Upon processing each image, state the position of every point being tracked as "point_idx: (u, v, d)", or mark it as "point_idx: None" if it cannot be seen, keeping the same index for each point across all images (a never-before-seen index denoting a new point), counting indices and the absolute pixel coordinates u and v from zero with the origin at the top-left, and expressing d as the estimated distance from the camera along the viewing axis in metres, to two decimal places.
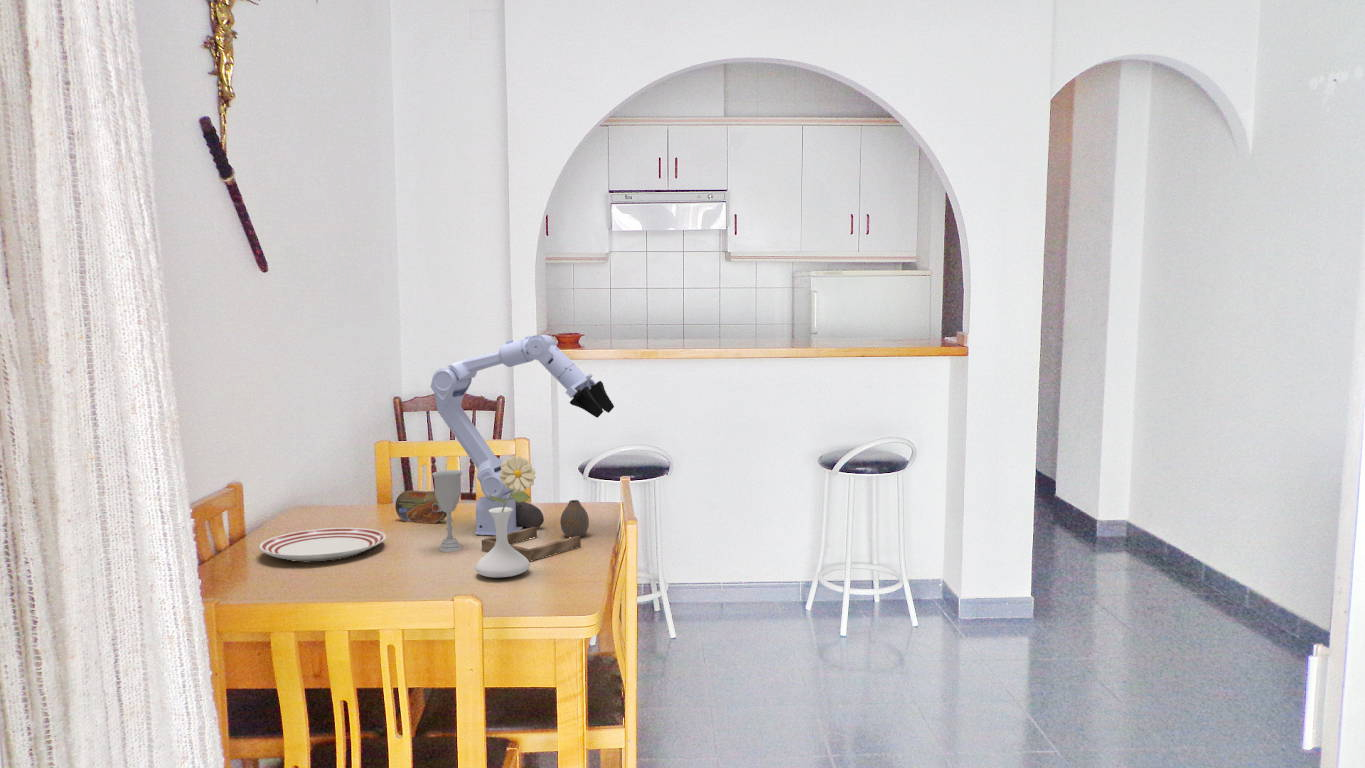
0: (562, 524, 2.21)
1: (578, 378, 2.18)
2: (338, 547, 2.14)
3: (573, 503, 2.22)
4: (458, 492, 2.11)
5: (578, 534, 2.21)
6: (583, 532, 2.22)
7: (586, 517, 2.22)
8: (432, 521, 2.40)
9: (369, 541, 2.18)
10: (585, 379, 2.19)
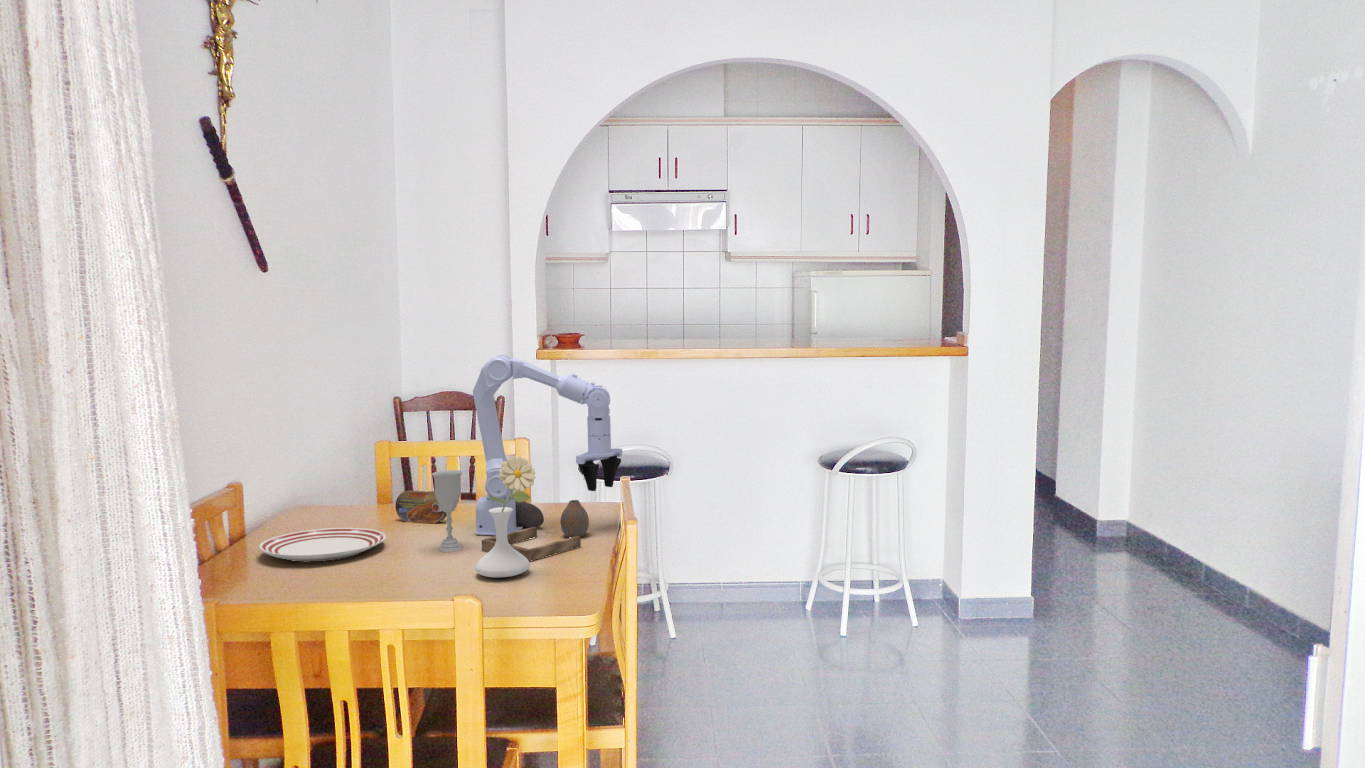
0: (562, 524, 2.21)
1: (599, 450, 2.26)
2: (338, 547, 2.14)
3: (573, 503, 2.22)
4: (458, 492, 2.11)
5: (578, 534, 2.21)
6: (583, 532, 2.22)
7: (586, 517, 2.22)
8: (432, 521, 2.40)
9: (369, 541, 2.18)
10: (603, 455, 2.26)
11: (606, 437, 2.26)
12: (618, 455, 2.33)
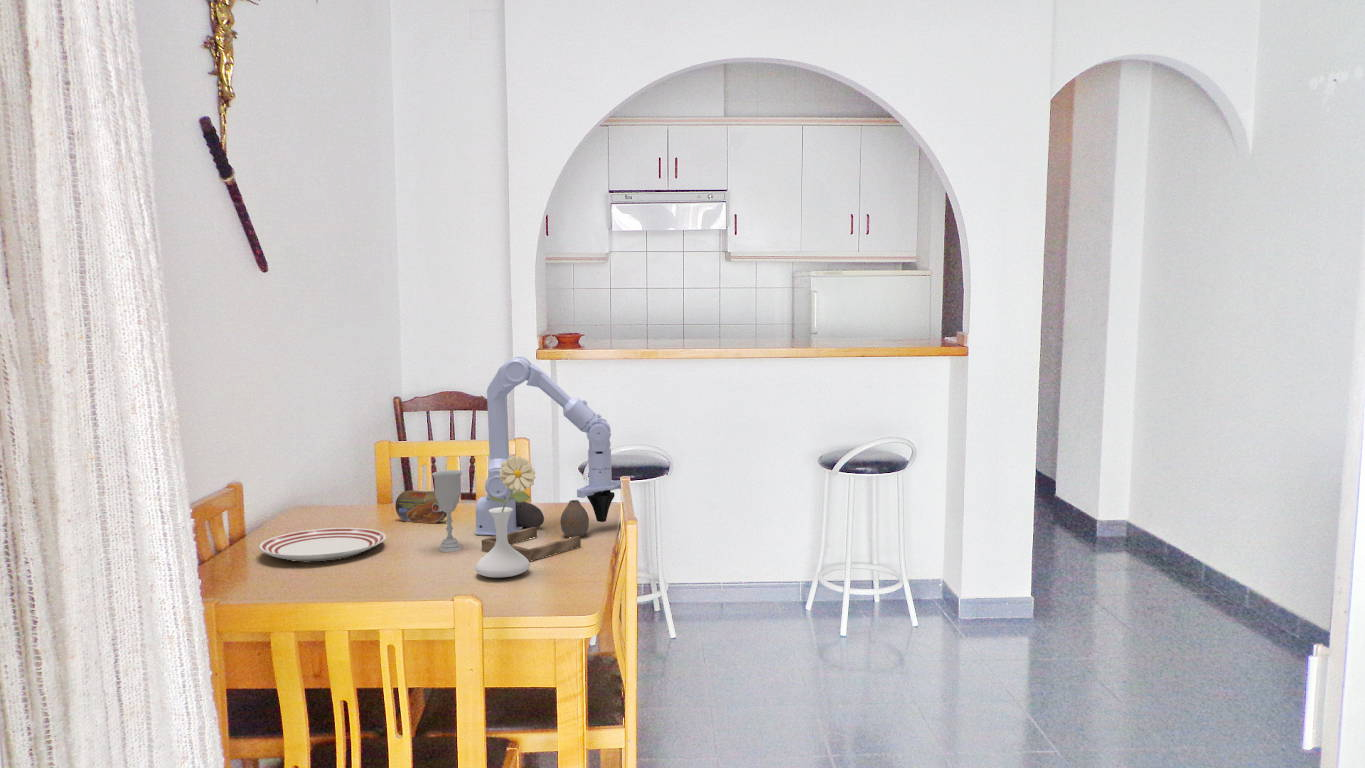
0: (562, 524, 2.21)
1: (600, 483, 2.26)
2: (338, 547, 2.14)
3: (573, 503, 2.22)
4: (458, 492, 2.11)
5: (578, 534, 2.21)
6: (583, 532, 2.22)
7: (586, 517, 2.22)
8: (432, 521, 2.40)
9: (369, 541, 2.18)
10: (604, 488, 2.26)
11: (607, 470, 2.27)
12: (619, 487, 2.34)
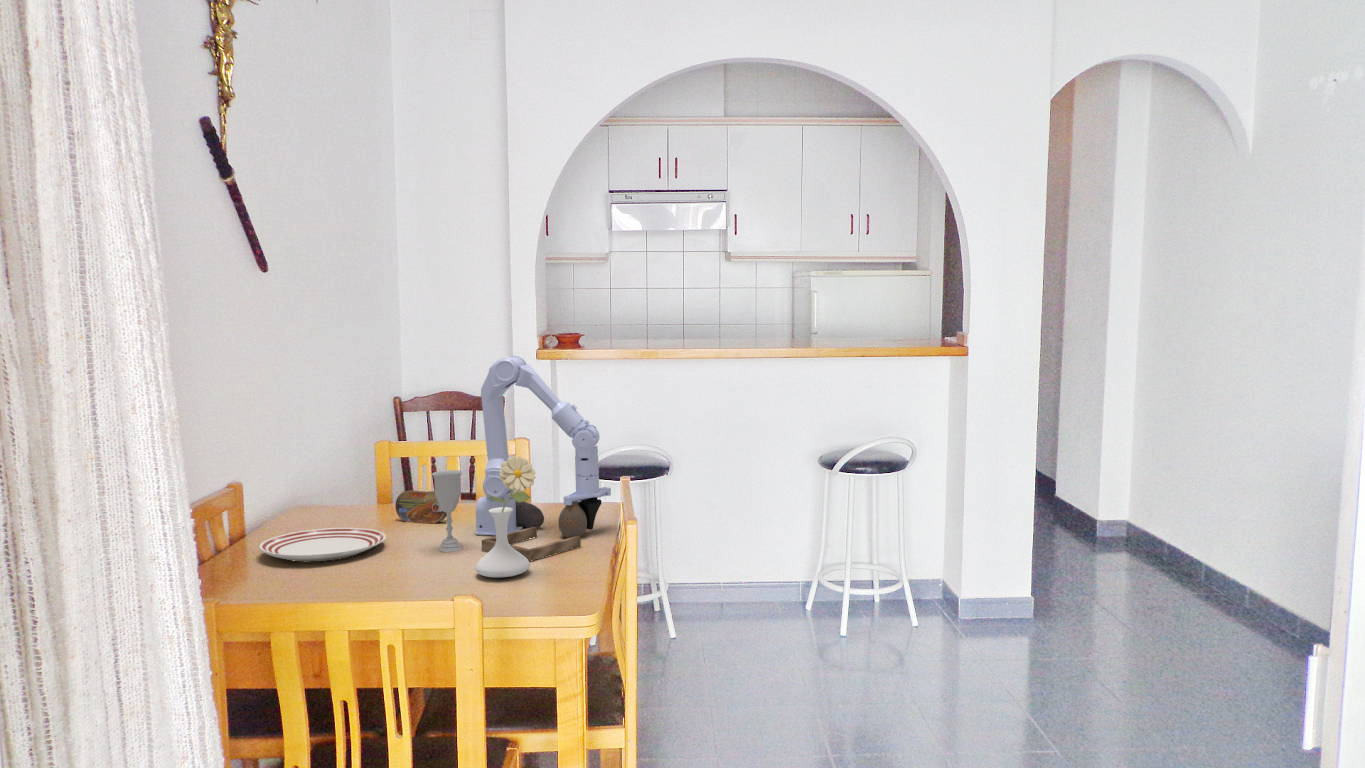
0: (560, 524, 2.21)
1: (587, 490, 2.23)
2: (338, 547, 2.14)
3: None
4: (458, 492, 2.11)
5: (576, 534, 2.21)
6: (581, 532, 2.21)
7: (584, 517, 2.22)
8: (432, 521, 2.40)
9: (369, 541, 2.18)
10: (591, 496, 2.23)
11: (594, 477, 2.24)
12: (606, 494, 2.30)
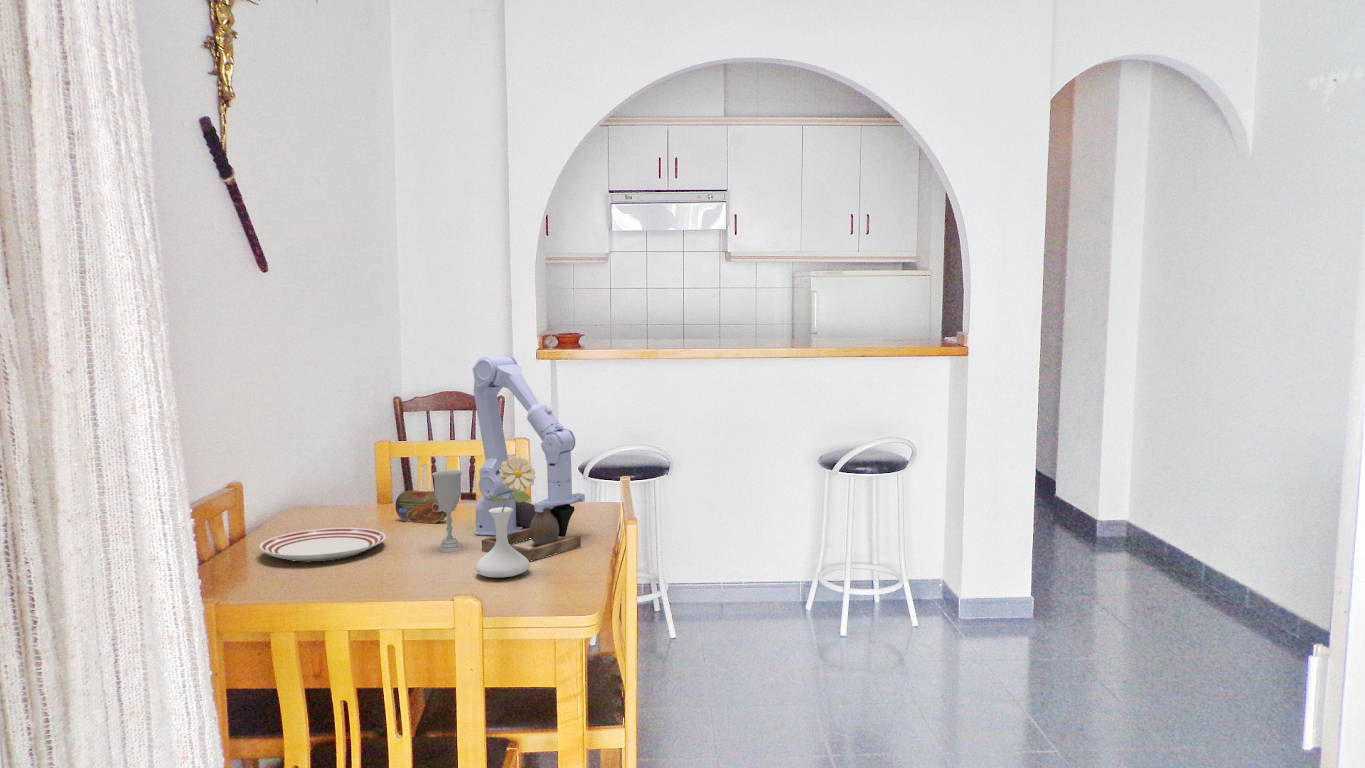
0: (531, 532, 2.14)
1: (559, 497, 2.16)
2: (338, 547, 2.14)
3: None
4: (458, 492, 2.11)
5: (548, 542, 2.13)
6: (553, 540, 2.14)
7: (556, 525, 2.15)
8: (432, 521, 2.40)
9: (369, 541, 2.18)
10: (563, 502, 2.16)
11: (566, 483, 2.16)
12: (580, 500, 2.23)
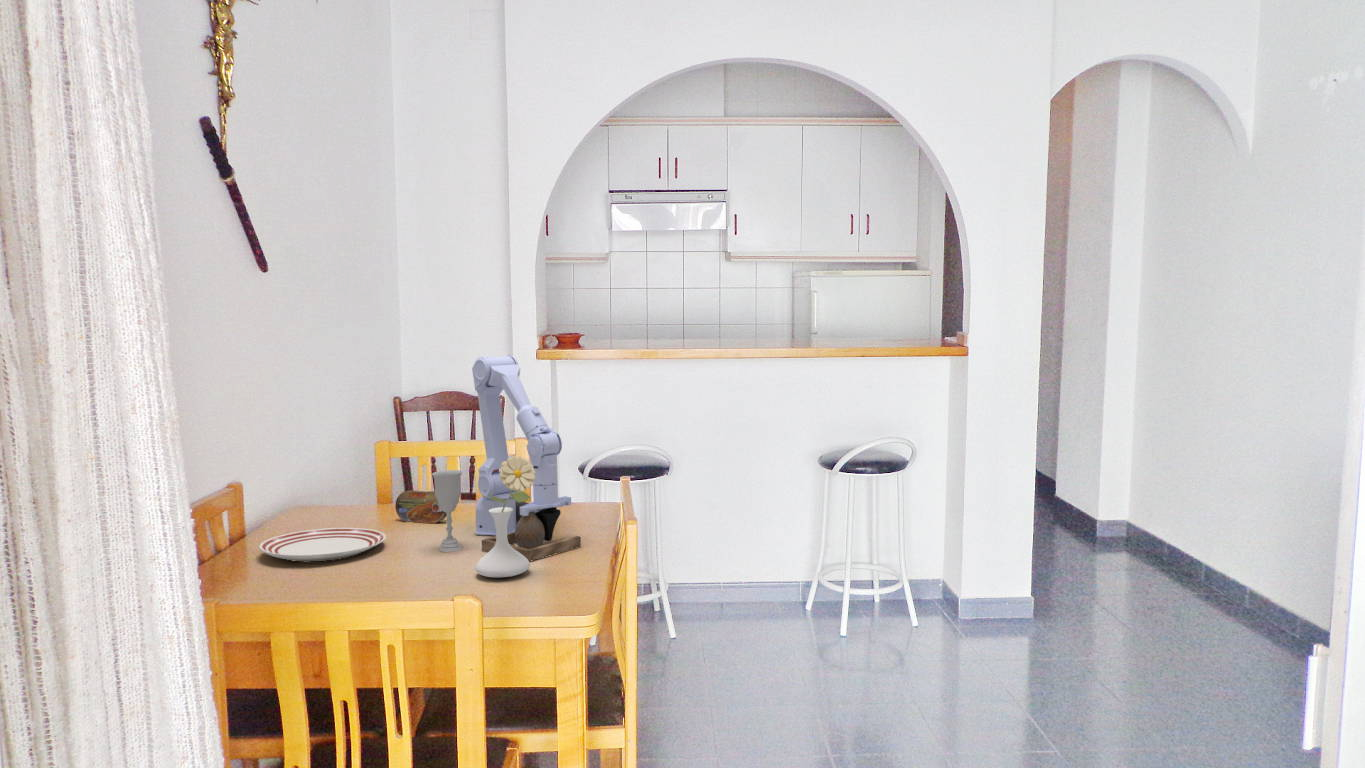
0: (516, 536, 2.10)
1: (545, 500, 2.12)
2: (338, 547, 2.14)
3: None
4: (458, 492, 2.11)
5: (533, 547, 2.10)
6: (538, 544, 2.11)
7: (541, 528, 2.11)
8: (432, 521, 2.40)
9: (369, 541, 2.18)
10: (549, 506, 2.12)
11: (552, 486, 2.13)
12: (567, 504, 2.20)
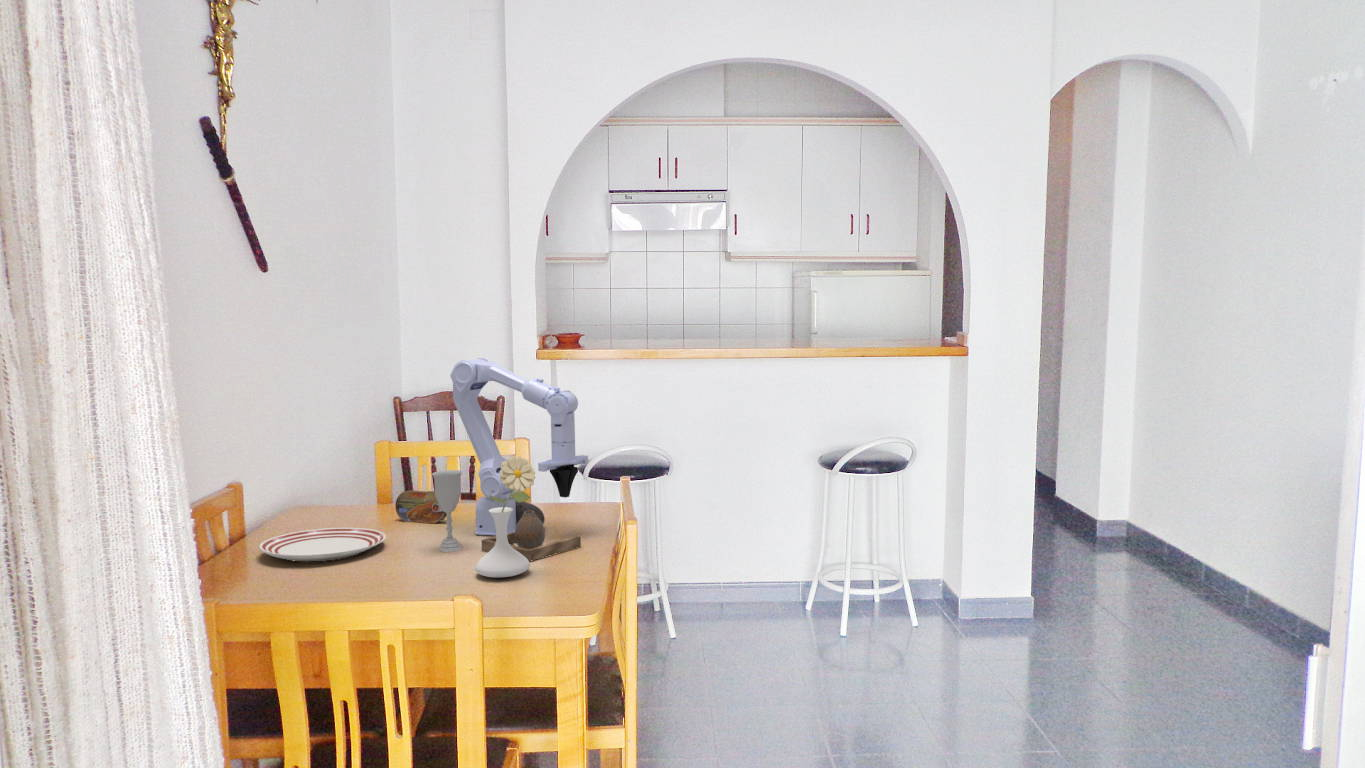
0: (516, 536, 2.10)
1: (562, 457, 2.19)
2: (338, 547, 2.14)
3: (528, 514, 2.11)
4: (458, 492, 2.11)
5: (533, 547, 2.10)
6: (538, 545, 2.11)
7: (542, 529, 2.11)
8: (432, 521, 2.40)
9: (369, 541, 2.18)
10: (566, 463, 2.19)
11: (570, 444, 2.20)
12: (584, 462, 2.26)
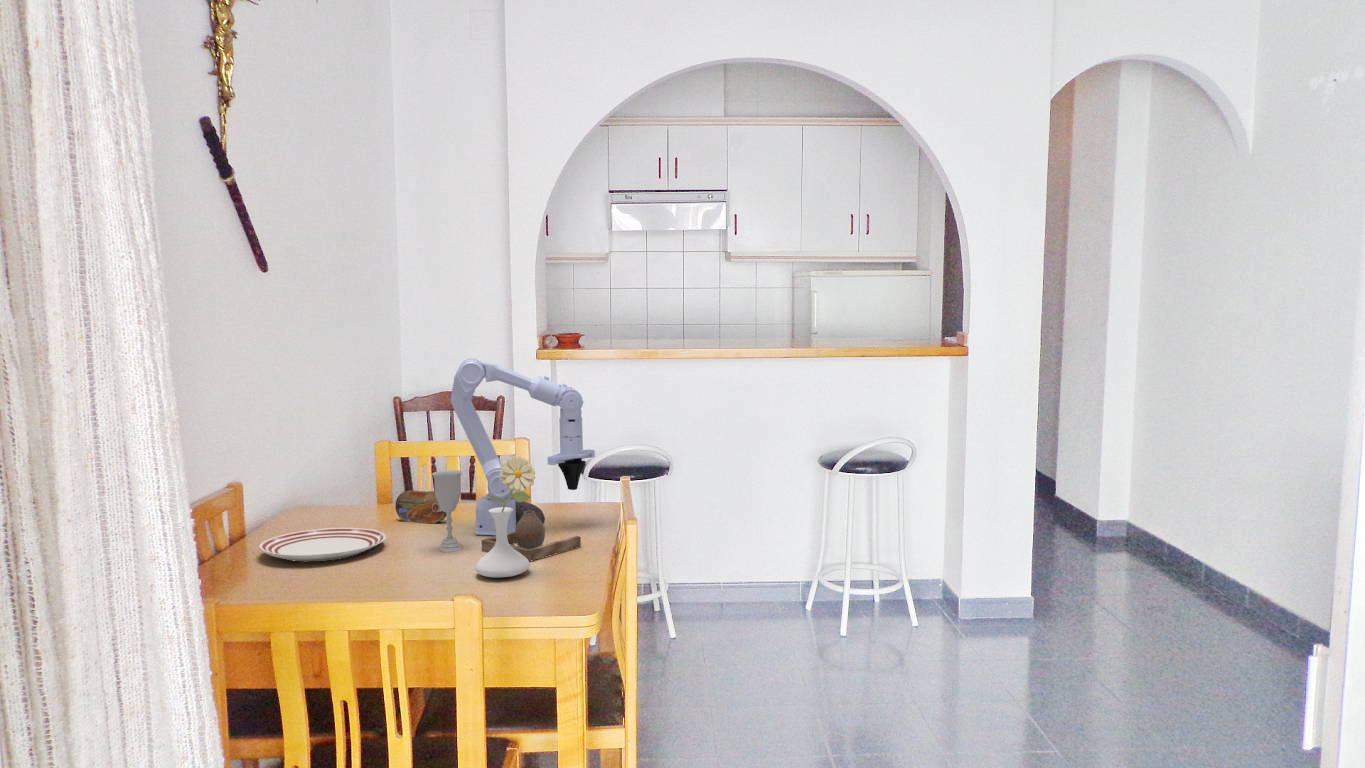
0: (516, 536, 2.10)
1: (571, 451, 2.28)
2: (338, 547, 2.14)
3: (528, 514, 2.11)
4: (458, 492, 2.11)
5: (533, 547, 2.10)
6: (538, 545, 2.11)
7: (542, 529, 2.11)
8: (432, 521, 2.40)
9: (369, 541, 2.18)
10: (575, 456, 2.28)
11: (578, 438, 2.28)
12: (590, 456, 2.35)
